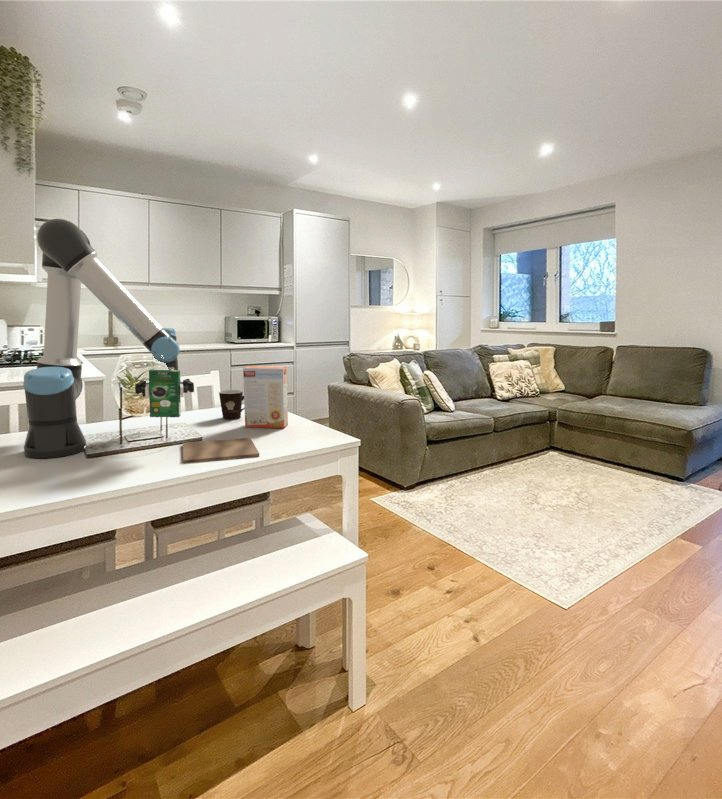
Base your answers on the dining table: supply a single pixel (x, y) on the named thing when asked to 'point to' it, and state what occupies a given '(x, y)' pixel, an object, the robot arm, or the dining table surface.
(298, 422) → the dining table surface
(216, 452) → the walnut board
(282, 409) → the cracker box
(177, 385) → the coffee box
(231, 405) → the coffee mug
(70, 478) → the dining table surface
